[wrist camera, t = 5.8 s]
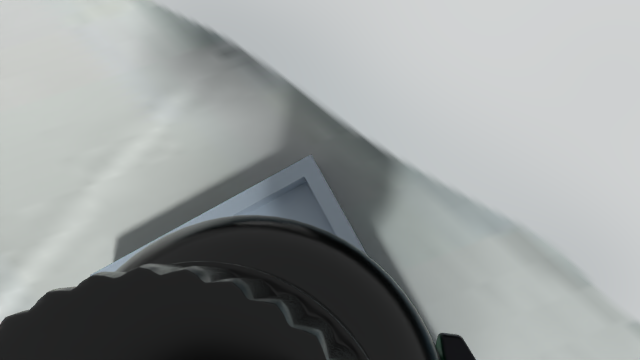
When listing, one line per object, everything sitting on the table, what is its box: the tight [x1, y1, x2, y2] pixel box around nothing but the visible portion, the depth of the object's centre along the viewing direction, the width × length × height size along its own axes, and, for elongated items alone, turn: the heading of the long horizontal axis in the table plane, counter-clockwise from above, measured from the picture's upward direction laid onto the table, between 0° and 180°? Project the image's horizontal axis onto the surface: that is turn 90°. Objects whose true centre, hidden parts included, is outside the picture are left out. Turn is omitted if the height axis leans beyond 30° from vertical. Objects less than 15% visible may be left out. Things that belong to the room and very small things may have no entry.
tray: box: [90, 155, 366, 276], centre depth 21 cm, size 12×12×2 cm
